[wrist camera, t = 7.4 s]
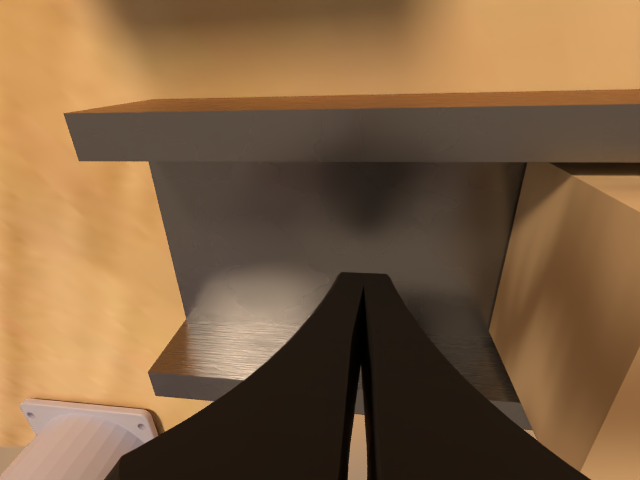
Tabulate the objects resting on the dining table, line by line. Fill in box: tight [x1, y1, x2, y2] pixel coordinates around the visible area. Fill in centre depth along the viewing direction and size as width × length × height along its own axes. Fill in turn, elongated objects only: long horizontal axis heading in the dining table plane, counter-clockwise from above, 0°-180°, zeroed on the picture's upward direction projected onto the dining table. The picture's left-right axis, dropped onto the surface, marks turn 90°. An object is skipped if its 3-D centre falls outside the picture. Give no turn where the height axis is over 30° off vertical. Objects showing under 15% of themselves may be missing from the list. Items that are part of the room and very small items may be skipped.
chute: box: [64, 89, 640, 430], centre depth 12 cm, size 10×20×4 cm, turn 91°
